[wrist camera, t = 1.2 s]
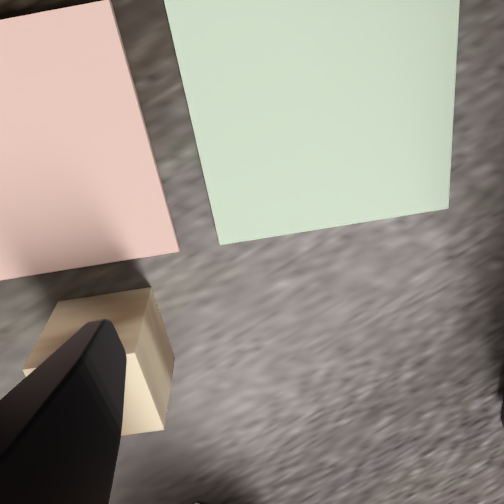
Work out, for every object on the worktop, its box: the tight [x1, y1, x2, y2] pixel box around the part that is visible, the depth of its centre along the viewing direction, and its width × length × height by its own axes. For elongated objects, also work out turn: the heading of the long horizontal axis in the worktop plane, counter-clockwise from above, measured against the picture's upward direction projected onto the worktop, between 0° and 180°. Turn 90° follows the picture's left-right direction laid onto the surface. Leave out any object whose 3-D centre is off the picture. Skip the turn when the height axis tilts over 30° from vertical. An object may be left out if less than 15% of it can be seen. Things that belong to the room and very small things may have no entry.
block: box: [22, 287, 175, 436], centre depth 24 cm, size 5×5×5 cm
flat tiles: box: [0, 0, 460, 280], centre depth 20 cm, size 24×11×1 cm, turn 99°
